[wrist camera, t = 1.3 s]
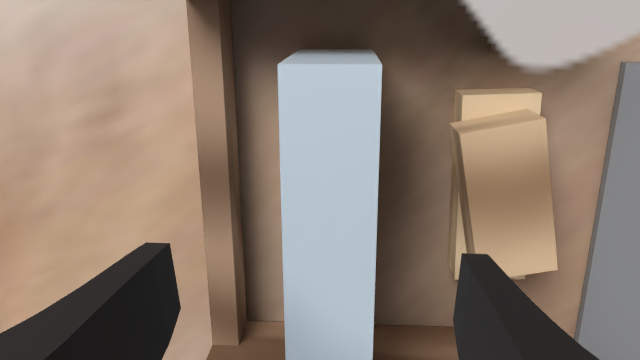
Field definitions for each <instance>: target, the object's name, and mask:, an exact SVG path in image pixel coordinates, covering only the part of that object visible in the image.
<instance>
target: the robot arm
mask: <svg viewBox="0 0 640 360" xmlns="http://www.w3.org/2000/svg"><path fill="white" fill-rule="evenodd" d="M180 309H181V307H180V301H179V295H178V289H177V283H176V277H175V271H174V266H173V260H172V254H171V248H170V243H145V244H143V245H142V246H140V247H138V248H137V249H135V250H134V251H132V252H131V253H129V254H128V255H126V256H125V257H123V258H122V259H120V260H119V261H118V262H116V263H115V264H113V265H112V266H110V267H109V268H108V269H106V270H105V271H103V272H102V273H100V274H99V275H97V276H96V277H94V278H93V279H91V280H90V281H88V282H87V283H86V284H84V285H83V286H81V287H80V288H78V289H76V290H75V291H73V292H72V293H70V294H68V295H67V296H65V297H64V298H62V299H60V300H59V301H57V302H56V303H54V304H52V305H51V306H49V307H48V308H46V309H44V310H43V311H41V312H39V313H38V314H36V315H34V316H32V317H30V318H29V319H27V320H25V321H23V322H21V323H19V324H18V325H16V326H14V327H12V328H10V329H8V330H6V331H4V332H2V333H0V360H162V358H163V356H164V354H165V351H166V349H167V347H168V345H169V342H170V340H171V337H172V334H173V331H174V328H175V325H176V322H177V318H178V315H179V312H180ZM453 322H454V330H455V338H456V345H457V352H458V358H459V360H600V359H598V358H597V357H596V356H594V355H593V354H592V353H590V352H589V351H588V350H586V349H585V348H584V347H583V346H581V345H580V344H579V343H578V342H576V341H575V340H574V339H573V338H572V337H570V336H569V335H568V334H567V333H566V332H565V331H564V330H562V329H561V328H560V327H559V326H558V325H557V324H556V323H555V322H553V321H552V320H551V319H550V318H549V317H548V316H547V315H546V314H545V313H544V312H543V311H542V310H541V309H540V308H538V307H537V306H536V305H535V304H534V303H533V302H532V301H531V300H530V299H529V298H528V297H527V296H526V295H525V293H524V292H523V291H522V290H521V289H520V288H519V287H518V286H517V285H516V284H515V283H514V282H513V281H512V280H511V279H510V278H509V277H508V275H507V274H506V273H505V272H504V271H503V270H502V269H501V268H500V267H499V266H498V265H497V263H496V262H495V261H494V260H493V259H492V258H491V257H490V256H489V255H488V254H469V253H462V255H461V263H460V271H459V278H458V286H457V294H456V302H455V310H454V318H453Z"/></svg>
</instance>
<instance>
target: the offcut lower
mask: <svg viewBox="0 0 640 360" xmlns="http://www.w3.org/2000/svg"><path fill="white" fill-rule="evenodd" d="M541 99H542V93H541V92H538V91H536V90H533V89H531V88H529V87H527V88H495V89H463V90H455V98H454V122H458V121H464V120H469V119H474V118H480V117H485V116H490V115H496V114H501V113H506V112H512V111H517V110H522V109H529V110H531V111H533V112H535V113H537V114H539V115H540V110H541ZM462 253H467V251H466V243H465V236H464V228H463V221H462V213H461V206H460V198H459V191H458V184H457V176H456V169H455V161H454V154H453V149H452V175H451V200H450V226H449V251H448V264H449V267H450V269H451V272H452V275H453V277H454V280H458V278H459V271H460V263H461V255H462ZM525 276H526V275H520V276H514V277H509V278H510V279H525Z"/></svg>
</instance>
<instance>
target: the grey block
mask: <svg viewBox="0 0 640 360" xmlns="http://www.w3.org/2000/svg"><path fill="white" fill-rule="evenodd" d="M574 340H575V341H576V342H578V343H579V344H580V345H581V346H583V347H584V348H585V349H586V350H588V351H589V352H590V353H592V354H593V355H594V356H596V357H597V358H598V359H600V360H640V62H621V67H620V73H619V79H618V85H617V91H616V97H615V103H614V109H613V115H612V120H611V126H610V132H609V138H608V144H607V150H606V156H605V162H604V168H603V173H602V179H601V185H600V191H599V197H598V203H597V209H596V215H595V221H594V226H593V232H592V238H591V244H590V250H589V256H588V262H587V268H586V274H585V279H584V285H583V291H582V297H581V303H580V309H579V315H578V321H577V326H576V332H575V338H574Z"/></svg>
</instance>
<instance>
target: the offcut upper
mask: <svg viewBox="0 0 640 360" xmlns="http://www.w3.org/2000/svg"><path fill="white" fill-rule="evenodd" d="M449 124H450V131H451V139H452V146H453V154H454V161H455V169H456V176H457V184H458V191H459V198H460V206H461V213H462V221H463V228H464V236H465V243H466V251H467V253H469V254H488V255H489V256H490V257H491V258H492V259H493V260H494V261H495V262H496V263H497V265H498V266H499V267H500V268H501V269H502V270H503V271H504V272H505V273H506V274H507V275H508V277H514V276H520V275H527V274H534V273H540V272H547V271H553V270H558V267H557V254H556V241H555V228H554V216H553V203H552V190H551V177H550V165H549V152H548V139H547V126H546V118H544V117H542V116H540V115H539V114H537V113H535V112H533V111H531V110H529V109H522V110H517V111H512V112H506V113H501V114H496V115H490V116H485V117H480V118H474V119H469V120H464V121H458V122H453V123H449Z"/></svg>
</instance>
